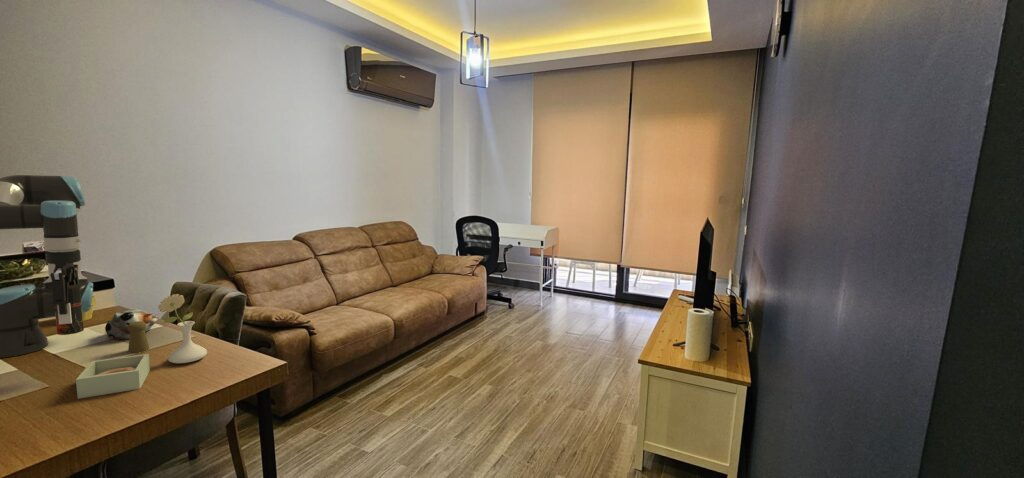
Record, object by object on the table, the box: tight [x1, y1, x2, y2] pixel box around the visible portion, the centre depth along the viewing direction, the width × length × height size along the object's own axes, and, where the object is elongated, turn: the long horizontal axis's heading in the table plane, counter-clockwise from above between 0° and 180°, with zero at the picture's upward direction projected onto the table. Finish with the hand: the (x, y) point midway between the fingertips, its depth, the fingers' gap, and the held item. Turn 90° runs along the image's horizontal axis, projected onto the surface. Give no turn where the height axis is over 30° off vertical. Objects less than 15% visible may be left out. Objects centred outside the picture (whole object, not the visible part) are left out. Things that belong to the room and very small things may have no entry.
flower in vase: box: [157, 293, 208, 364], centre depth 150 cm, size 13×11×25 cm
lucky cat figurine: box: [104, 308, 159, 341], centre depth 170 cm, size 15×12×14 cm
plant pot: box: [82, 295, 96, 322], centre depth 184 cm, size 10×10×10 cm
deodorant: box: [55, 285, 85, 336], centre depth 134 cm, size 6×6×15 cm
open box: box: [75, 353, 151, 400], centre depth 132 cm, size 14×14×6 cm
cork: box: [127, 321, 150, 354], centre depth 157 cm, size 6×6×11 cm
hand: (69, 320), depth 135 cm, fingers closed on deodorant, 6 cm apart
